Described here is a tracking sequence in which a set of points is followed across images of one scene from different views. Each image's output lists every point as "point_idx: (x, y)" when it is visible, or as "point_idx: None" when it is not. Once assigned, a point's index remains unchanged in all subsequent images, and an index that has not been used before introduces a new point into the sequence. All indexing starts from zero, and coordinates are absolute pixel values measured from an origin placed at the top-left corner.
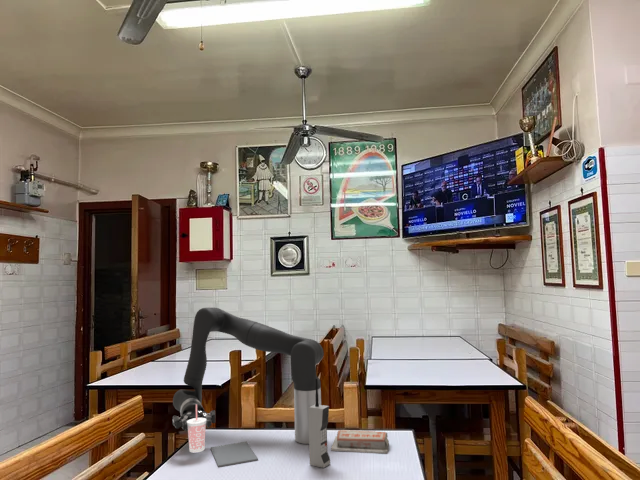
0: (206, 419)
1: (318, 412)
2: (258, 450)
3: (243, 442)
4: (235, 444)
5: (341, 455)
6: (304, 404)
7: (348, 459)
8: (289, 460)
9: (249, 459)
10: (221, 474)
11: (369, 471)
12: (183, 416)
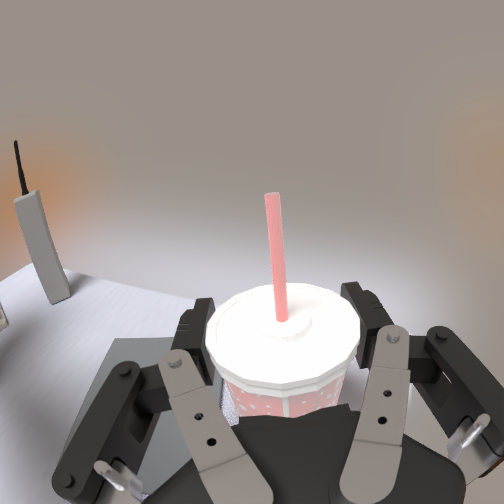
0: (207, 324)
1: (39, 196)
2: (74, 394)
3: None
4: None
5: (18, 308)
6: None
7: (27, 296)
8: (74, 320)
9: (134, 340)
10: None
11: None
12: (434, 453)
